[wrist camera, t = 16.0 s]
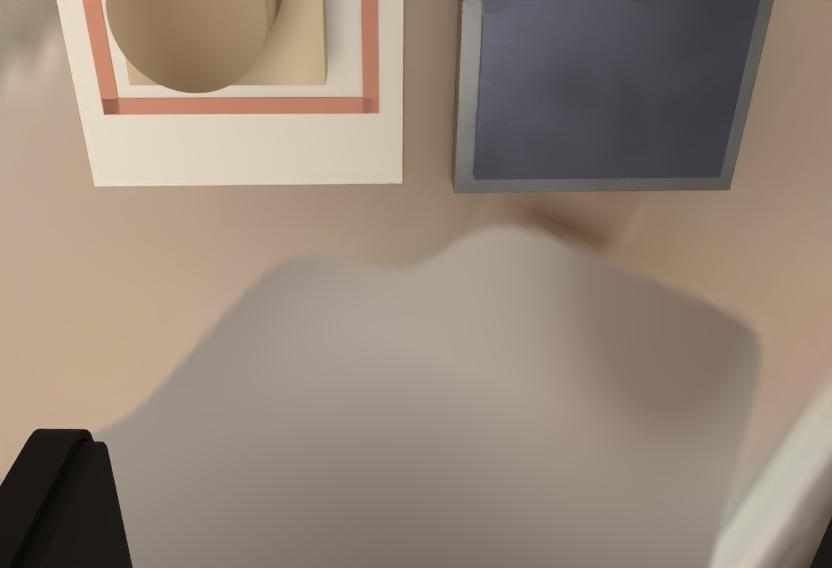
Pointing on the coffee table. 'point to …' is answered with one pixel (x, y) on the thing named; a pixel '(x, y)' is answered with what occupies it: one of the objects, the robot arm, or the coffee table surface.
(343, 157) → the paper
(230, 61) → the stamp
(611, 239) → the coffee table surface
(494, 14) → the ink pad
